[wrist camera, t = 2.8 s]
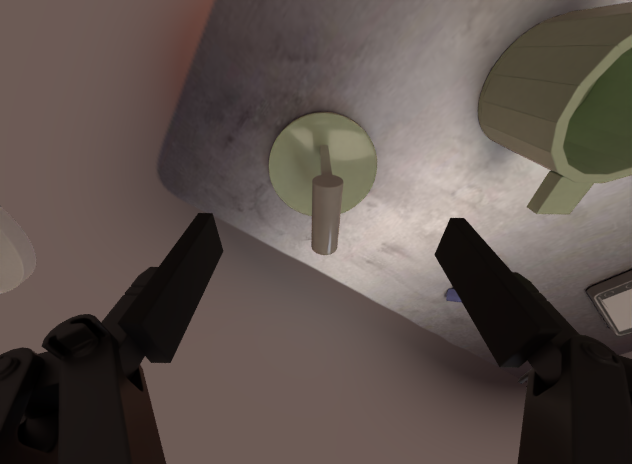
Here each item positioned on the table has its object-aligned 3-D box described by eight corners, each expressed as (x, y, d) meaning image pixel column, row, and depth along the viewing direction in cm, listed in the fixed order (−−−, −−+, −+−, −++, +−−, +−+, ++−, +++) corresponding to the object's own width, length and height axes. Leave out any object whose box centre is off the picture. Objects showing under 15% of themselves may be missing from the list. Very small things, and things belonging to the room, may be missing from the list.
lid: (274, 210, 24) (258, 277, 17) (264, 108, 19) (233, 144, 11) (366, 212, 24) (387, 278, 17) (383, 111, 19) (426, 148, 12)
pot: (449, 173, 22) (500, 219, 16) (536, -53, 14) (708, -135, 8) (538, 175, 22) (621, 220, 16) (678, -49, 14) (956, -125, 8)
